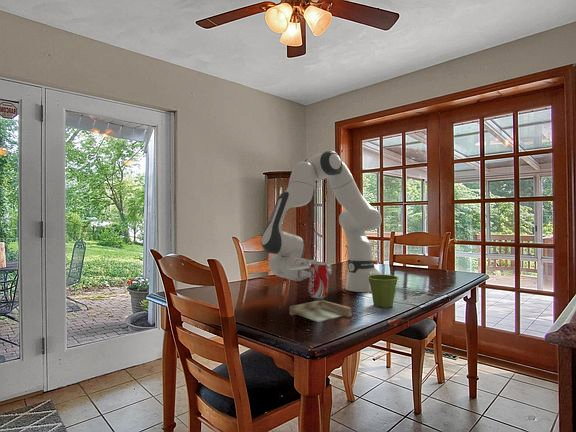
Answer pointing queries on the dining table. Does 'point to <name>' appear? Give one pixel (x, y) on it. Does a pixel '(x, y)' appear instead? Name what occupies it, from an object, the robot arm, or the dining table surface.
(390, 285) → the plant pot
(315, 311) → the wooden stand
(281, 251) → the robot arm
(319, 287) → the soda can
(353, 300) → the dining table surface
